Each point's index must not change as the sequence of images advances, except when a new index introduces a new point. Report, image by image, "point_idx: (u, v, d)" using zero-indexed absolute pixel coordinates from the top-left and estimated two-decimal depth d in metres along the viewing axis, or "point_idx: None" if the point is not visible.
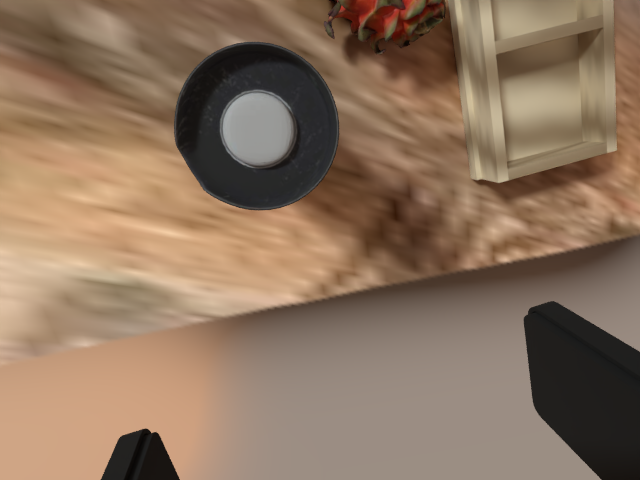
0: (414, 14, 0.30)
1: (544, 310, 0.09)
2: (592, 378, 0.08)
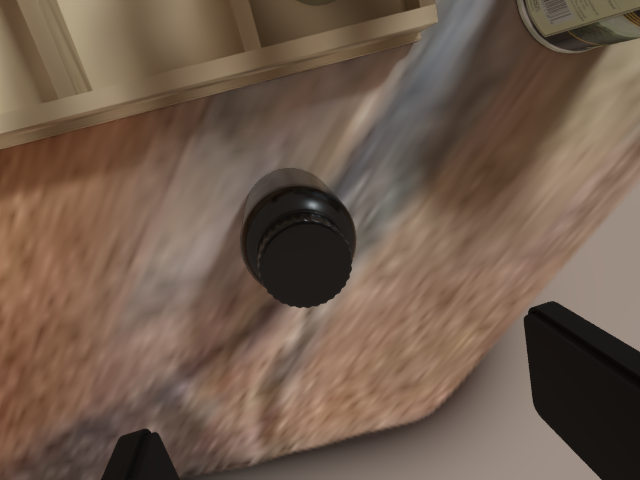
0: None
1: (544, 310, 0.09)
2: (592, 378, 0.08)
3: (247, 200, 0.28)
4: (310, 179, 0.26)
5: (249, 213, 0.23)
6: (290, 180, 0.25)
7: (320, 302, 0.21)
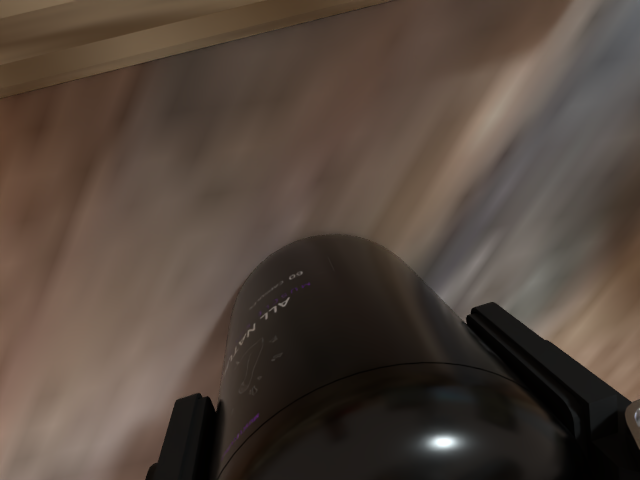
0: None
1: (482, 310, 0.10)
2: (516, 373, 0.09)
3: (233, 325, 0.11)
4: (415, 299, 0.09)
5: None
6: (366, 321, 0.08)
7: None
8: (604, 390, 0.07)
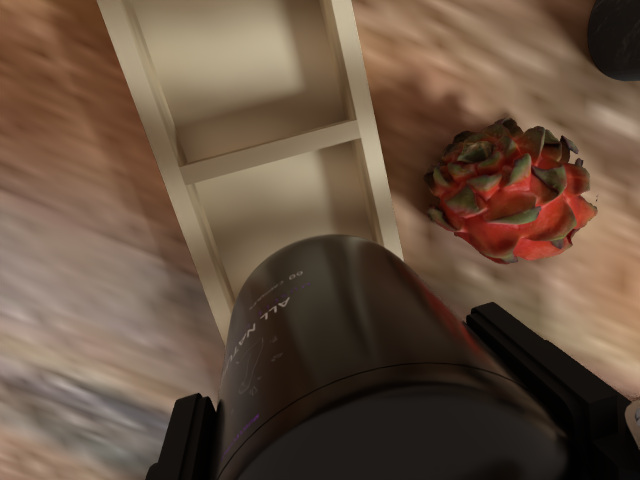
0: (525, 158, 0.22)
1: (482, 310, 0.10)
2: (516, 373, 0.09)
3: (233, 325, 0.11)
4: (415, 299, 0.09)
5: None
6: (366, 321, 0.08)
7: None
8: (604, 390, 0.07)
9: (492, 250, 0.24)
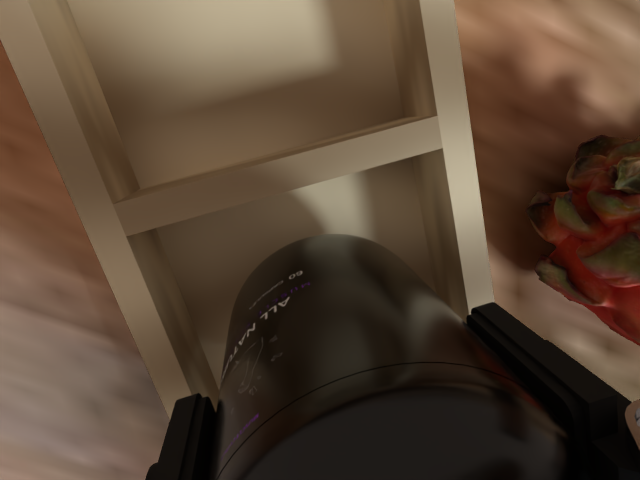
0: None
1: (482, 310, 0.10)
2: None
3: (232, 325, 0.11)
4: (415, 299, 0.09)
5: None
6: (366, 321, 0.08)
7: None
8: (605, 390, 0.07)
9: None
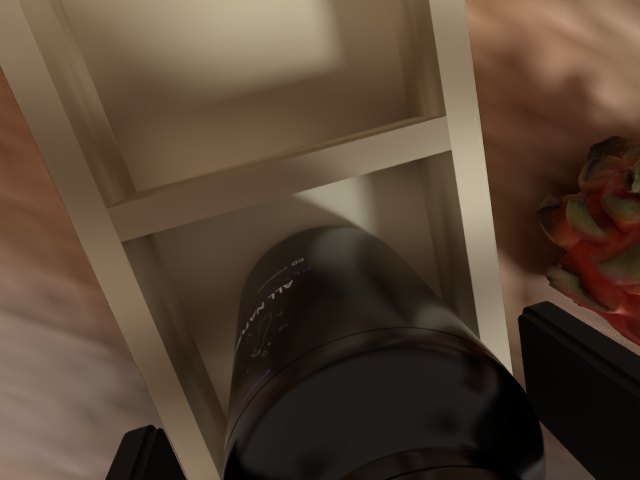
0: None
1: (538, 310, 0.10)
2: (584, 377, 0.08)
3: (243, 306, 0.13)
4: (398, 280, 0.10)
5: (247, 425, 0.08)
6: (356, 297, 0.09)
7: None
8: None
9: None
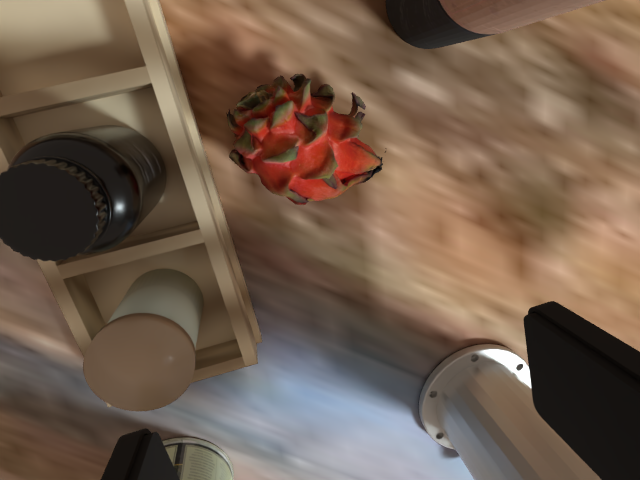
0: (285, 104, 0.25)
1: (544, 310, 0.09)
2: (592, 378, 0.08)
3: None
4: (103, 131, 0.24)
5: (10, 162, 0.21)
6: (71, 130, 0.23)
7: (68, 255, 0.20)
8: None
9: (275, 188, 0.28)
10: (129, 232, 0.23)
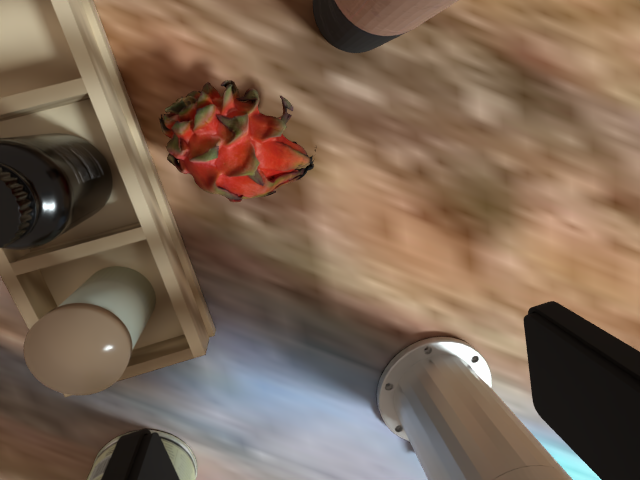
0: (205, 107, 0.27)
1: (544, 310, 0.09)
2: (592, 378, 0.08)
3: None
4: (40, 138, 0.27)
5: None
6: (8, 137, 0.26)
7: None
8: None
9: (206, 186, 0.30)
10: (62, 227, 0.26)
